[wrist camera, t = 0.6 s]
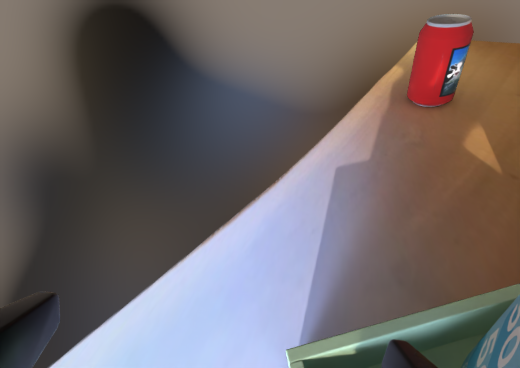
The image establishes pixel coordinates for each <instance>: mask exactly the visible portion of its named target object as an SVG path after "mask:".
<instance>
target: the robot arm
mask: <svg viewBox="0 0 520 368" xmlns="http://www.w3.org/2000/svg"><path fill="white" fill-rule="evenodd" d="M59 321H60V310H59V296H58V295H57V294H56V293H51V292H38V293H35V294H33V295H30V296H28V297H26V298H23V299H21V300H19V301H16V302H14V303H12V304H9V305H7V306H4V307H2V308H0V368H32V367H33V365H34V364H35V362H36V361H37V359H38V357H39V356H40V354H41V352H42V351H43V349H44V348H45V346H46V345H47V343H48V342H49V340H50V338H51V337H52V335H53V333H54V332H55V331H56V329H57V327H58V325H59ZM382 368H438V367H437V366H436V365H434V364H433V363H432V362H431V361H430V360H428V359H427V358H426V357H425V356H424V355H423V354H421V353H420V352H419V351H418V350H417V349H416V348H414V347H413V346H412V345H411V344H410V343H408V342H407V341H404V340H396V339H392V340H390V341H389V343H388V346H387V349H386V352H385V355H384V358H383V361H382Z"/></svg>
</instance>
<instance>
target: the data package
mask: <svg viewBox="0 0 520 368" xmlns="http://www.w3.org/2000/svg"><path fill="white" fill-rule="evenodd" d="M461 368H520V295H519V296H518V297H517V298H516V299H515V300H514V302H513V303H512V304H511V305H510V306H509V307H508V309H507V310H506V311H505V312H504V313H503V314H502V316H501V317H500V318H499V319H498V320H497V321H496V323H495V324H494V325H493V326H492V327H491V328H490V330H489V331H488V332H487V333H486V334H485V335H484V337H483V338H482V339H481V340H480V341H479V342H478V344H477V345H476V346H475V347H474V348H473V349H472V351H471V352H470V353H469V354H468V356H467V357H466V359H465V361H464V362H463V364H462V366H461Z"/></svg>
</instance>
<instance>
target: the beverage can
mask: <svg viewBox="0 0 520 368" xmlns="http://www.w3.org/2000/svg"><path fill="white" fill-rule="evenodd" d="M471 19H472V18H471V17H470V16H467V15H460V14H445V15H438V16H433V17H430V18H429V19H428V20H427V23H426V24H425V26H424V27H423V28H422V30H421V31H420V33H419V37H418V42H417V47H416V51H415V56H414V61H413V66H412V71H411V76H410V82H409V87H408V92H407V96H408V98H409V99H410V100H411V101H413V102H414V103H416V104H418V105H421V106H427V107H435V106H440V105H442V104H445V103H448V102H449V101H451V100H452V99H453V97H454V94H455V90H456V87H457V84H458V81H459V78H460V75H461V72H462V69H463V66H464V62H465V59H466V56H467V53H468V49H469V46H470V43H471V39H472V36H473V33H474V31H473V27H472V23H471Z"/></svg>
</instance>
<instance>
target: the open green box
mask: <svg viewBox="0 0 520 368" xmlns="http://www.w3.org/2000/svg"><path fill="white" fill-rule="evenodd" d="M519 295H520V284H516V285H513V286H509V287H505V288H502V289H498V290H495V291H491V292H488V293H484V294H481V295H477V296H474V297H470V298H467V299H463V300H460V301H456V302H453V303H449V304H446V305H442V306H439V307H435V308H431V309H428V310H424V311H421V312H417V313H414V314H410V315H407V316H403V317H400V318H396V319H393V320H389V321H386V322H382V323H379V324H375V325H372V326H368V327H364V328H361V329H357V330H354V331H350V332H347V333H343V334H340V335H336V336H333V337H329V338H326V339H322V340H319V341H315V342H312V343H308V344H305V345H301V346H297V347H294V348H290V349H287V350H286V355H287V360H288V365H289V368H382V361H383V358H384V355H385V352H386V349H387V346H388V343H389V341H390V340H392V339H396V340H404V341H407V342H408V343H410V344H411V345H412V346H413V347H414V348H416V349H417V350H418V351H419V352H420V353H421V354H423V355H424V356H425V357H426V358H427V359H428V360H430V361H431V362H432V363H433V364H434V365H436V366H437V367H438V368H461V366H462V364H463V362H464V361H465V359H466V357H467V356H468V354H469V353H470V352H471V351H472V349H473V348H474V347H475V346H476V345H477V344H478V342H479V341H480V340H481V339H482V338H483V337H484V335H485V334H486V333H487V332H488V331H489V330H490V328H491V327H492V326H493V325H494V324H495V323H496V321H497V320H498V319H499V318H500V317H501V316H502V314H503V313H504V312H505V311H506V310H507V309H508V307H509V306H510V305H511V304H512V303H513V302H514V300H515V299H516V298H517V297H518V296H519Z"/></svg>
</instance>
